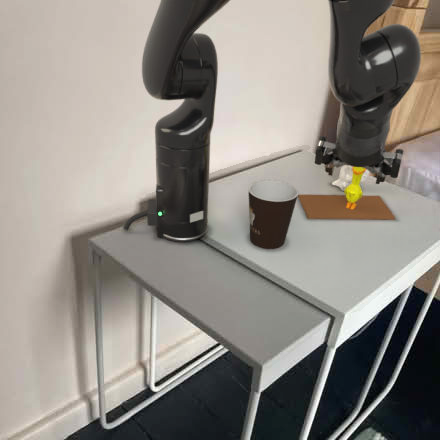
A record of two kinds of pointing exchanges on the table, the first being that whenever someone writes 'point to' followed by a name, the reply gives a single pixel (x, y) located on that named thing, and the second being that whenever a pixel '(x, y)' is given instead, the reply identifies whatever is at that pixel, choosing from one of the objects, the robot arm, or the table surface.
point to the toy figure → (354, 187)
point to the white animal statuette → (347, 177)
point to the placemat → (344, 207)
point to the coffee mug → (270, 212)
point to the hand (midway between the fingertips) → (354, 175)
